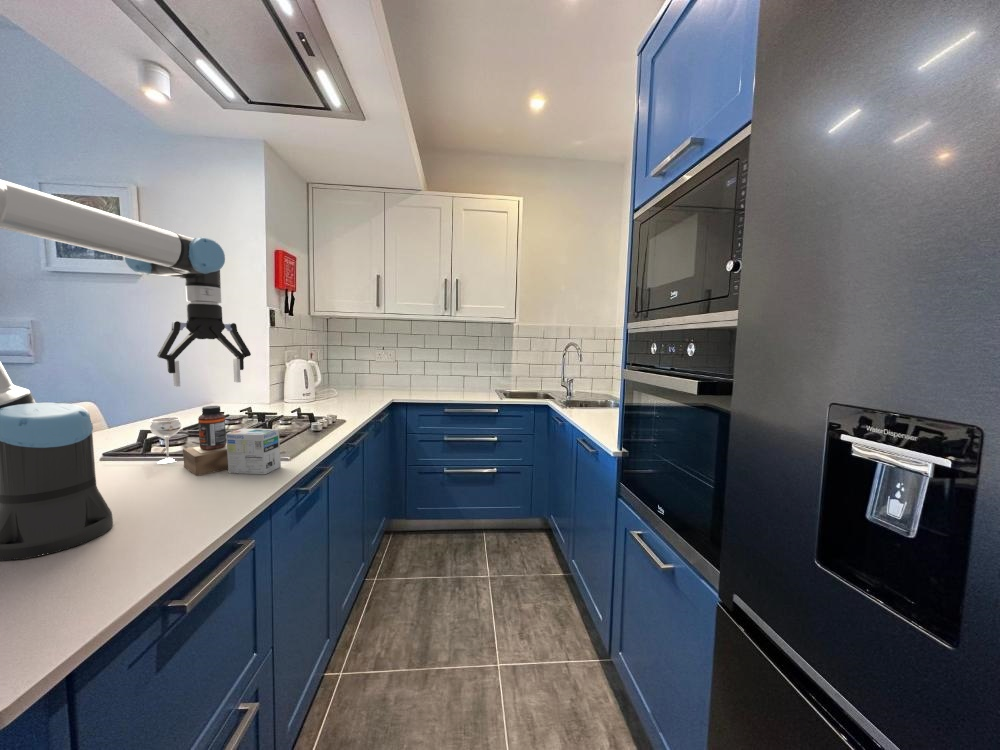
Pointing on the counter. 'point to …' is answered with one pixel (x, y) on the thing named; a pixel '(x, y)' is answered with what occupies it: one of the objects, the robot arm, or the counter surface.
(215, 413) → the supplement bottle
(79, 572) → the counter surface
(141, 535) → the counter surface
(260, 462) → the light bulb box
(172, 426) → the wineglass
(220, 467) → the walnut riser
